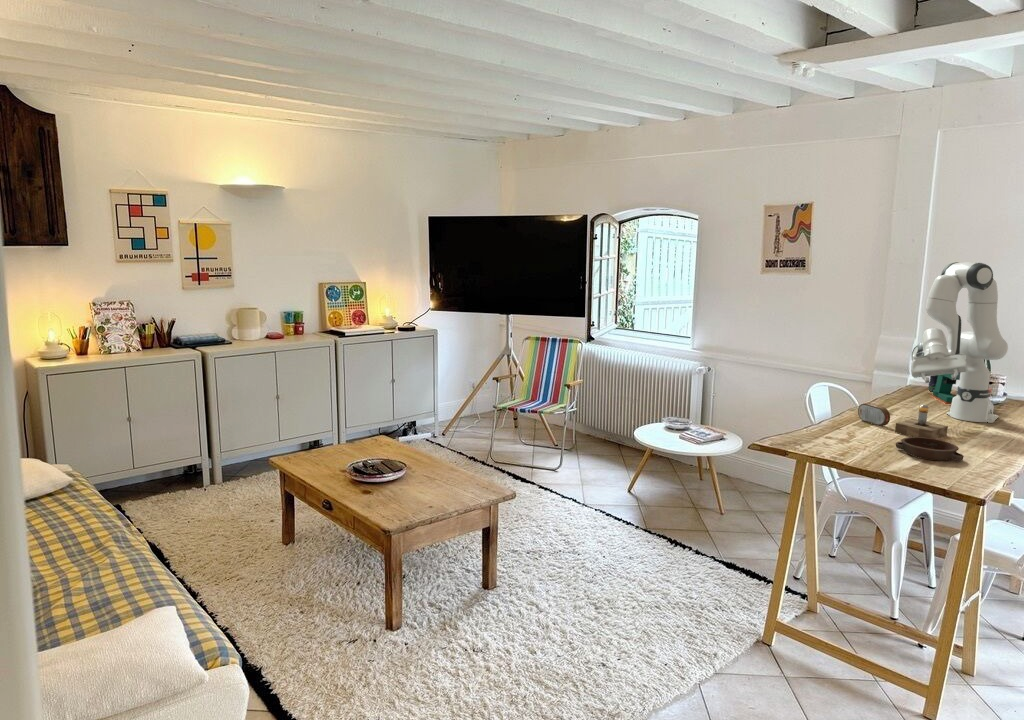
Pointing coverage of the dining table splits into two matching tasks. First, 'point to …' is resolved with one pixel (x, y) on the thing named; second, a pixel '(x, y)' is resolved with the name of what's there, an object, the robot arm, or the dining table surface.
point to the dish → (930, 448)
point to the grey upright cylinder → (922, 415)
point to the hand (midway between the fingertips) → (940, 380)
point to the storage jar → (932, 383)
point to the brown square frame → (921, 429)
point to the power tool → (945, 388)
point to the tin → (874, 414)
